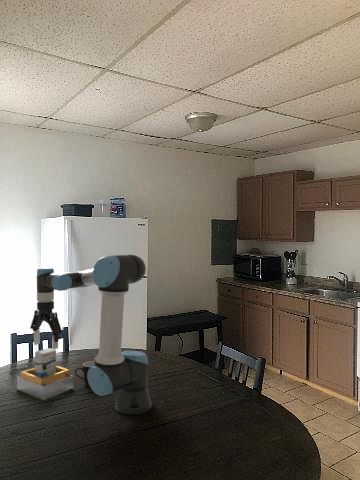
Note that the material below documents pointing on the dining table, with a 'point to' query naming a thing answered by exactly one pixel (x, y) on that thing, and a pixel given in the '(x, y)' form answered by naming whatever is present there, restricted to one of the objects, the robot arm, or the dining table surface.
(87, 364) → the coffee mug
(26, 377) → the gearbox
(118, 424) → the dining table surface
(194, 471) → the dining table surface
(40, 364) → the ink box
